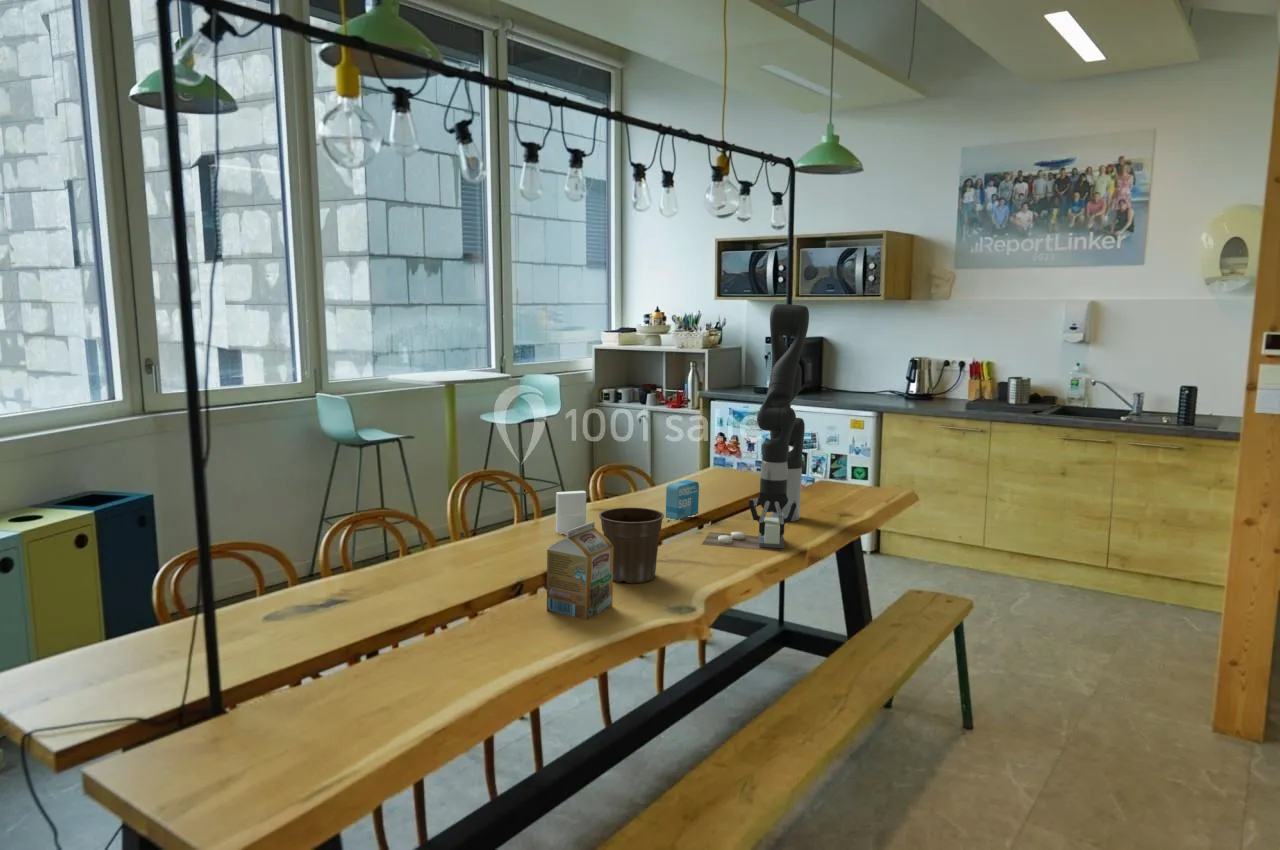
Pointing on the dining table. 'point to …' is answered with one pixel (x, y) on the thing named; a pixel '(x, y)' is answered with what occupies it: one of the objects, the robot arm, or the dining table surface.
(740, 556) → the dining table surface
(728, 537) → the wax drip
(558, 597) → the milk carton
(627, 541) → the plant pot
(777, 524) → the sanding block
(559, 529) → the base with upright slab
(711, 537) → the walnut board
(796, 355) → the robot arm
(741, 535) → the wax drip
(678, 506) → the data package
